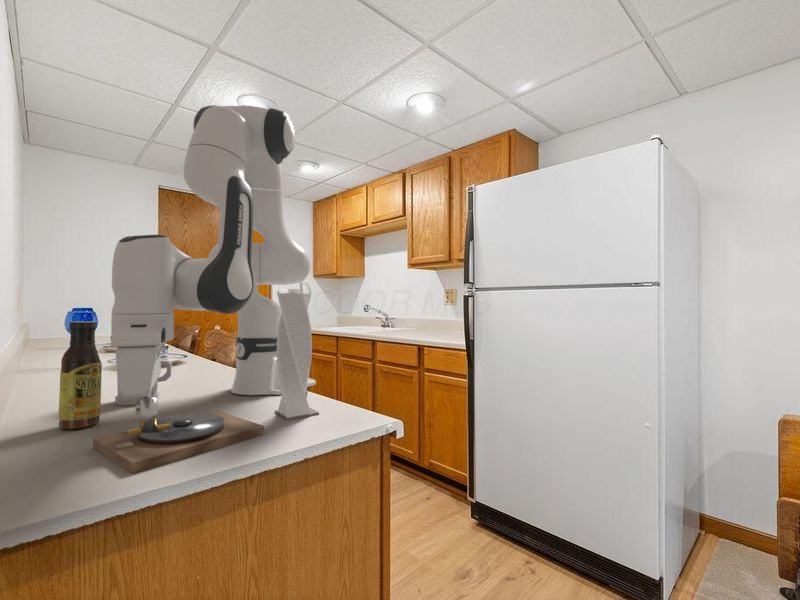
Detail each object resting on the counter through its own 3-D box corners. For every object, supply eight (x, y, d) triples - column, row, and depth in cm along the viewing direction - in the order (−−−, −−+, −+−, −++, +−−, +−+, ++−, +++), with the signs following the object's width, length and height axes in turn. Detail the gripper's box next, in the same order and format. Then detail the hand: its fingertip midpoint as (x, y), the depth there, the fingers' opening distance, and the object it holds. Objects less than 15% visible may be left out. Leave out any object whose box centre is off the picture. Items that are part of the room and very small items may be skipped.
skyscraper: (322, 416, 85) (322, 281, 85) (284, 422, 80) (285, 280, 80) (305, 407, 92) (305, 282, 92) (269, 413, 87) (270, 281, 87)
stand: (216, 418, 83) (217, 409, 83) (263, 434, 73) (263, 424, 73) (92, 447, 66) (92, 436, 66) (132, 473, 57) (132, 460, 57)
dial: (213, 414, 79) (213, 382, 79) (233, 432, 69) (233, 395, 69) (124, 429, 70) (124, 393, 70) (132, 451, 60) (132, 409, 60)
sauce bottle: (77, 432, 74) (77, 322, 74) (49, 430, 75) (49, 322, 75) (109, 421, 80) (110, 320, 80) (83, 419, 82) (83, 320, 81)
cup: (152, 394, 104) (152, 346, 104) (174, 398, 99) (175, 348, 99) (106, 403, 94) (106, 351, 94) (129, 408, 90) (129, 354, 90)
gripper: (130, 327, 76) (130, 401, 76) (108, 336, 58) (107, 433, 58) (169, 326, 79) (169, 397, 79) (159, 335, 61) (159, 428, 61)
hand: (142, 413), depth 68 cm, fingers closed, pressing on dial
